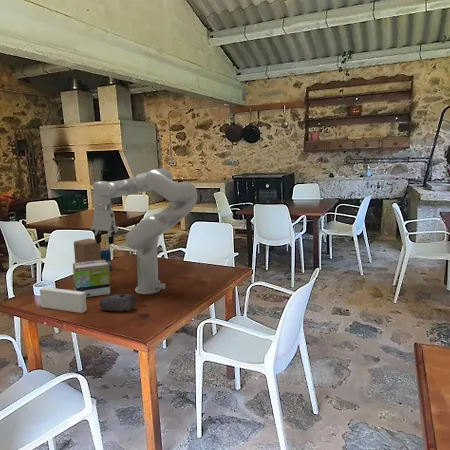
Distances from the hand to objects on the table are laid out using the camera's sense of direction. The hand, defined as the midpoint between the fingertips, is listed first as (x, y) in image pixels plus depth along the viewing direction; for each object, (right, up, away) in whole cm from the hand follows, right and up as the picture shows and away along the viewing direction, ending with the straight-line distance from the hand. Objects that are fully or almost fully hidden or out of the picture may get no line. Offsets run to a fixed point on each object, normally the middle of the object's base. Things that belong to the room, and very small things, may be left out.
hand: (105, 243), depth 195 cm
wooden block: (-13, -19, +17) cm, 29 cm away
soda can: (-9, -17, +30) cm, 35 cm away
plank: (-10, -27, -25) cm, 38 cm away
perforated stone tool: (+14, -27, -27) cm, 41 cm away
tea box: (-4, -24, -7) cm, 25 cm away
